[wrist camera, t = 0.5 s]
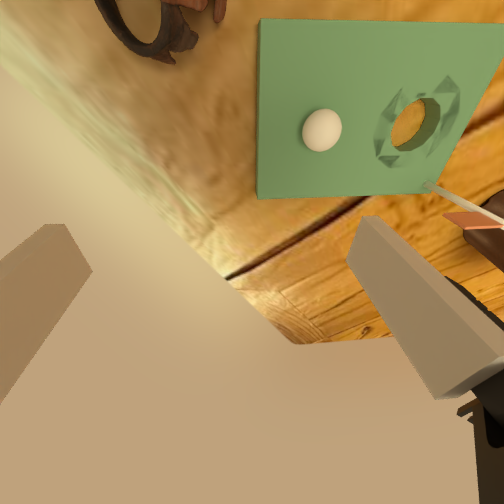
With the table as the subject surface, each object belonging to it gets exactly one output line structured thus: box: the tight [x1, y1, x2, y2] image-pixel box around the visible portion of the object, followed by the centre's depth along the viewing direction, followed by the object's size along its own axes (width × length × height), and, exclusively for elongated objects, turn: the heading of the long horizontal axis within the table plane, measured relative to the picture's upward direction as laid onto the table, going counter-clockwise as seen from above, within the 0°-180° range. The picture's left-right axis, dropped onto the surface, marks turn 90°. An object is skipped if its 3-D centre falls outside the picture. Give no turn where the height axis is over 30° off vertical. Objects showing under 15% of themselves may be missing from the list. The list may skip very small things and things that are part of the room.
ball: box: [302, 109, 342, 152], centre depth 23 cm, size 4×4×4 cm
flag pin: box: [423, 181, 504, 230], centre depth 27 cm, size 1×5×14 cm, turn 89°
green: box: [256, 18, 504, 199], centre depth 26 cm, size 25×17×2 cm
